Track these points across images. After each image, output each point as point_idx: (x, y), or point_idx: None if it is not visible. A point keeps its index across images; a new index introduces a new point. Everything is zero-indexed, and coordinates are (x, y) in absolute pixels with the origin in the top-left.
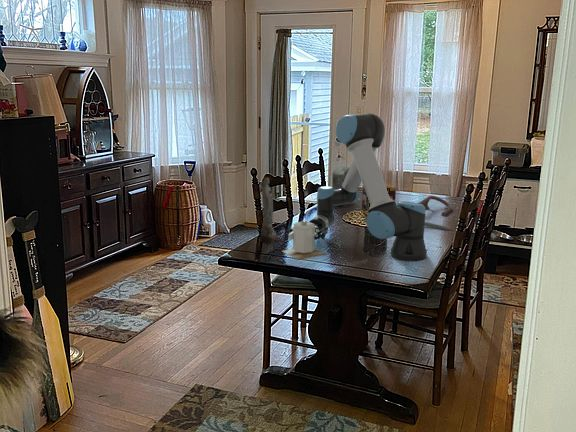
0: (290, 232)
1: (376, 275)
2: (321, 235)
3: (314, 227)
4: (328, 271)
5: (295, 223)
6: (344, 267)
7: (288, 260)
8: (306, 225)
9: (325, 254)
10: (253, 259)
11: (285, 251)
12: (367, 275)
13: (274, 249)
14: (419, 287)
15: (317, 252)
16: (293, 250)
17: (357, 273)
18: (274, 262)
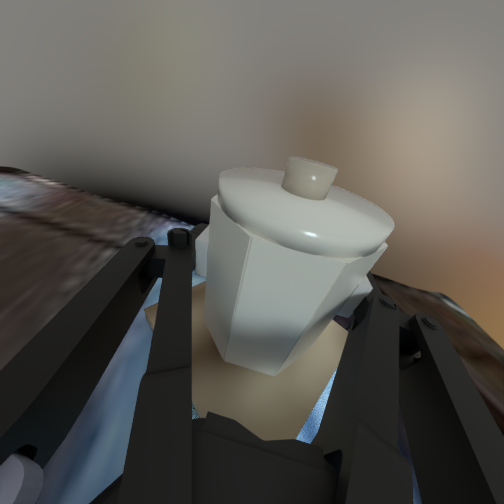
0: (373, 279)
1: (57, 201)
2: (160, 250)
3: (217, 194)
4: (177, 223)
5: (380, 212)
6: (119, 236)
7: None
8: (278, 181)
9: (152, 305)
10: (379, 285)
11: (334, 331)
12: (84, 203)
13: None
14: (8, 168)
15: None
16: (310, 350)
17: (104, 211)
18: None
